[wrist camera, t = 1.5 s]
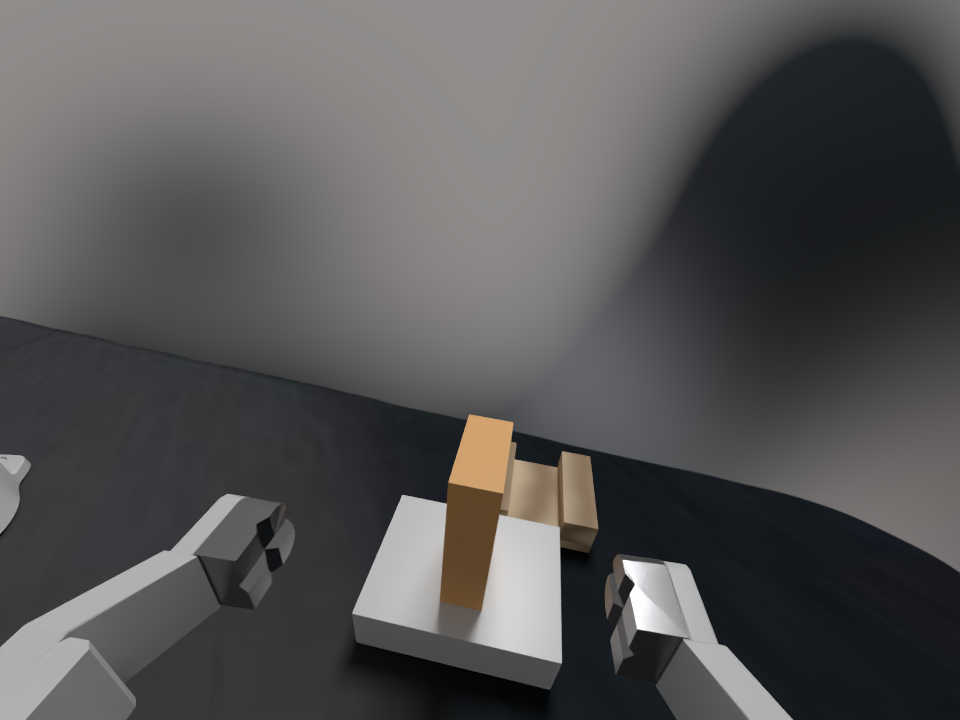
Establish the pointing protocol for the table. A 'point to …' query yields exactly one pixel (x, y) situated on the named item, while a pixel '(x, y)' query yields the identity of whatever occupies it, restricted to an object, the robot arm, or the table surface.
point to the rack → (553, 497)
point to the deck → (456, 629)
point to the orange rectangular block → (474, 510)
